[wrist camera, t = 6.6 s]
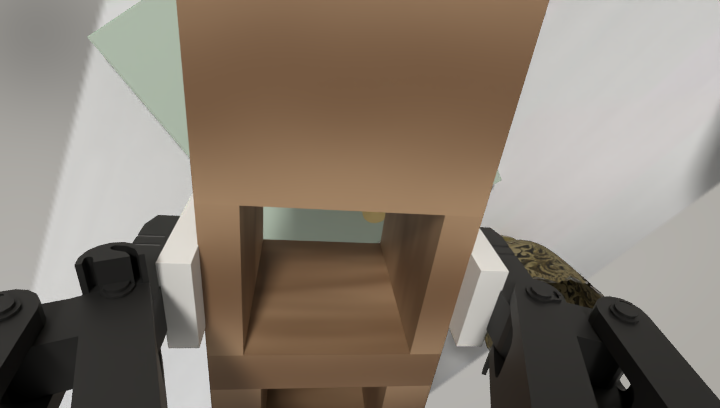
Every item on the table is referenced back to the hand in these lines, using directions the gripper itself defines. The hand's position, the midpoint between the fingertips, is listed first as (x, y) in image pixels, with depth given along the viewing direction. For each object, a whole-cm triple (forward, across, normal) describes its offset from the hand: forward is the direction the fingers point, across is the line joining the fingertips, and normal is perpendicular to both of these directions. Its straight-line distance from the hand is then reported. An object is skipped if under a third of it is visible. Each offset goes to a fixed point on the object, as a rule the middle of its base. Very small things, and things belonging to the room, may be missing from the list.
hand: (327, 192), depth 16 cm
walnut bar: (0, 0, 0) cm, 0 cm away
